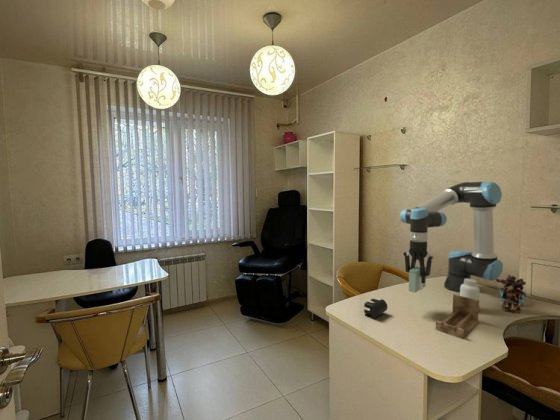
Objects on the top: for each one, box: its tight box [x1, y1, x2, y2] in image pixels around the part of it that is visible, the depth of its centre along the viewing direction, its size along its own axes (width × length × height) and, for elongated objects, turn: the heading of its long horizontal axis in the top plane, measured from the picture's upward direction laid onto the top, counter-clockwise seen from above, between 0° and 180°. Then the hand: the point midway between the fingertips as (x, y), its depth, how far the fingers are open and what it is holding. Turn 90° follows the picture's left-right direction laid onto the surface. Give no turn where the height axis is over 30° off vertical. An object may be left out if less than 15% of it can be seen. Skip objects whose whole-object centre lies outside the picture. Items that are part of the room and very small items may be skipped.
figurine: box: [495, 274, 527, 314], centre depth 137 cm, size 11×9×18 cm
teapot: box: [497, 287, 526, 306], centre depth 147 cm, size 12×6×8 cm, turn 35°
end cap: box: [363, 298, 388, 319], centre depth 132 cm, size 10×7×7 cm
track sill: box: [435, 294, 480, 340], centre depth 122 cm, size 10×22×10 cm, turn 131°
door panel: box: [408, 265, 427, 294], centre depth 134 cm, size 3×12×10 cm, turn 131°
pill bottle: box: [459, 278, 481, 301], centre depth 139 cm, size 8×8×15 cm
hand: (417, 288), depth 135 cm, fingers closed on door panel, 3 cm apart
